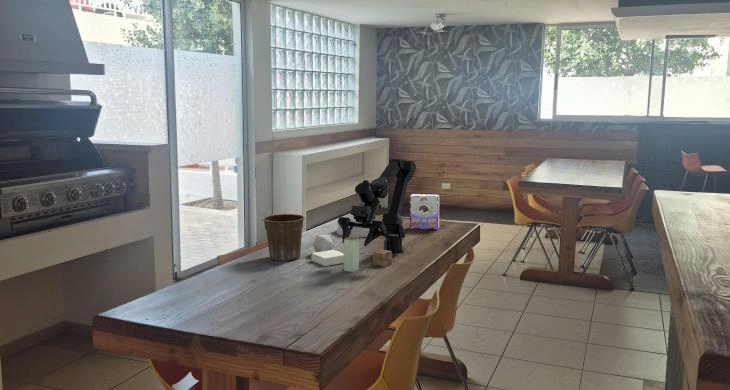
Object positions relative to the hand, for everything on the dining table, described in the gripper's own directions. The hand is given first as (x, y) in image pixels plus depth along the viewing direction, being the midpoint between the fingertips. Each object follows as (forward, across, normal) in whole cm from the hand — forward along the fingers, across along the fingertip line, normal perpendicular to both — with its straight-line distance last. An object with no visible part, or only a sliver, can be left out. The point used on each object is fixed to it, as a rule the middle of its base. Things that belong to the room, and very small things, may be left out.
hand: (353, 244), depth 238 cm
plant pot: (+6, -33, +8) cm, 34 cm away
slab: (+3, -14, +10) cm, 17 cm away
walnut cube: (-2, +6, +15) cm, 16 cm away
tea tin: (+8, 0, +6) cm, 9 cm away
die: (-3, -22, +16) cm, 28 cm away
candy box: (-52, -9, +64) cm, 83 cm away
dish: (-35, -31, +48) cm, 67 cm away
